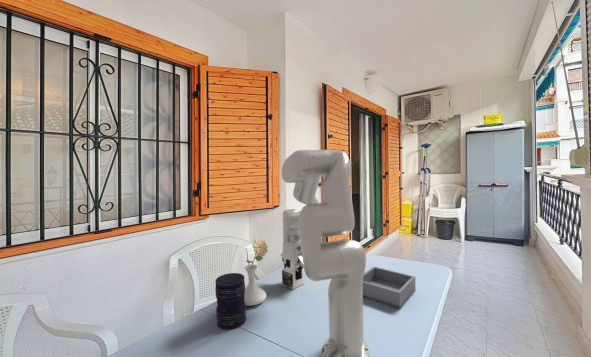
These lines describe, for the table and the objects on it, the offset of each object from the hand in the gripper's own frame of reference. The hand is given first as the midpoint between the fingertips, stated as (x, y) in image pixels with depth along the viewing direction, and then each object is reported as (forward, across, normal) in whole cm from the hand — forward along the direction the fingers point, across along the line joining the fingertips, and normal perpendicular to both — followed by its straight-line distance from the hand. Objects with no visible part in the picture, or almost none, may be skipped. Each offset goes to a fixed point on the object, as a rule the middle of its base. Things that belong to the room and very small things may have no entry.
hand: (292, 275), depth 116 cm
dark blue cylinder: (+4, -8, +33) cm, 34 cm away
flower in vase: (+4, 0, +20) cm, 21 cm away
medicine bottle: (+4, 0, 0) cm, 4 cm away
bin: (+4, -31, -24) cm, 40 cm away
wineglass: (+4, +2, -38) cm, 38 cm away
